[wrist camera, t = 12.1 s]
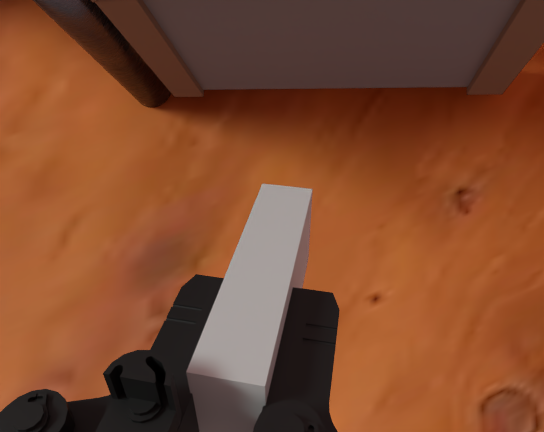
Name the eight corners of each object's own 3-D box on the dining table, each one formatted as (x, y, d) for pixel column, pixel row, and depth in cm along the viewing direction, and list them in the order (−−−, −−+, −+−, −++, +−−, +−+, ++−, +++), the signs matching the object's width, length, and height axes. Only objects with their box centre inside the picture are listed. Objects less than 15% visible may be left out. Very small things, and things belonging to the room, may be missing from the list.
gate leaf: (172, 96, 28) (63, -32, 17) (176, 62, 28) (71, -86, 17) (502, 94, 25) (628, -63, 14) (501, 56, 25) (623, -126, 14)
